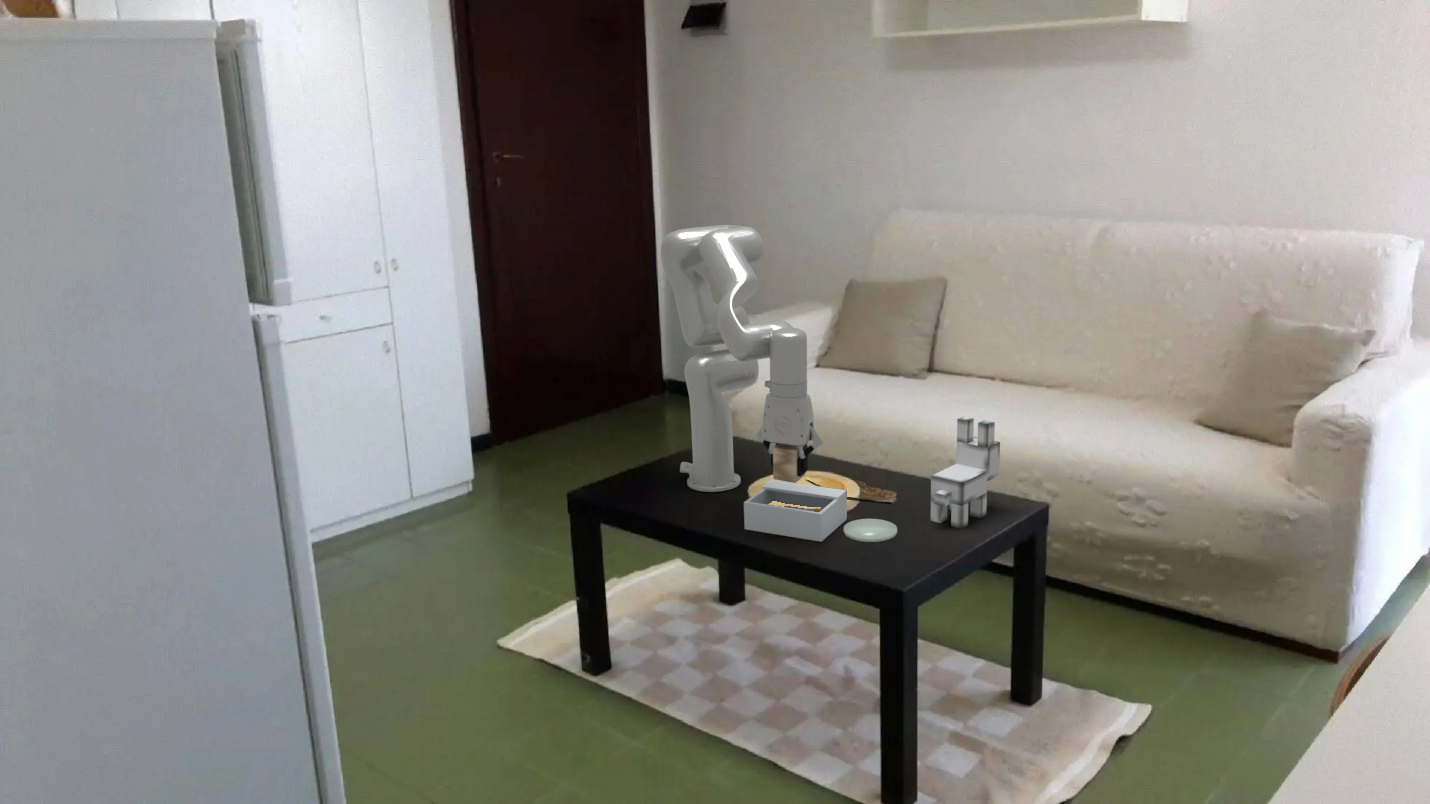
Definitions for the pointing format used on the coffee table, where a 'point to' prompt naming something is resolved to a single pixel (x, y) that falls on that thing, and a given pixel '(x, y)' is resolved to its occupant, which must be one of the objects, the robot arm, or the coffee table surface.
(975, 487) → the toy llama
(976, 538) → the coffee table surface
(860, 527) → the sage saucer
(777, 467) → the maple block
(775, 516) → the box
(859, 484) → the wooden fragment
